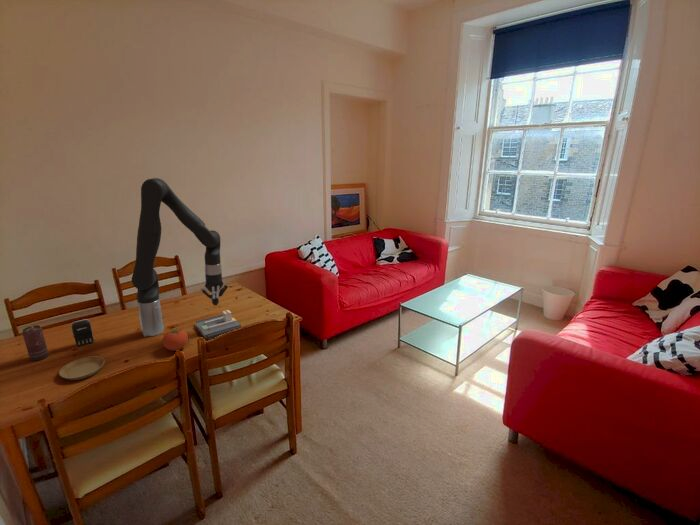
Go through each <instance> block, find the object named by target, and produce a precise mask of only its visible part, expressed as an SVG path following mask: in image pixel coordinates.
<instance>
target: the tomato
mask: <svg viewBox="0 0 700 525" xmlns="http://www.w3.org/2000/svg"><path fill="white" fill-rule="evenodd" d="M188 340H189V337H188V333H187V332H186V331H185V330H182V329H178V328H173V329H170V330H169V331H166V333H165V334H164V336H163V338H162V344H163V346H164V347H165V349H167V350H169V351H175V352H176V351H179V350H181V349H183V348H184V347H185V346H186V345H187V344H188ZM178 349H179V350H178Z"/></svg>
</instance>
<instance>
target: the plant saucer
mask: <svg viewBox="0 0 700 525" xmlns="http://www.w3.org/2000/svg"><path fill="white" fill-rule="evenodd" d="M104 364H105V358H103V357H101V356H97V355H93V356H91V355H90V356H85V357H82V358H78V359H74V360H73V361H70V362H68V363H67V364H66V365H65V364H64V365H63V367H61V368H60V369H59V372H58V375H59V376H60V377H61V378H63V379H66V380H70V381H77V380H82V379H86V378H89V377H92V376H93V375H95V374H96V373H98V372H99V371H100V370H101V369H102V367H103V366H104Z"/></svg>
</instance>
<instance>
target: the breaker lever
mask: <svg viewBox="0 0 700 525" xmlns="http://www.w3.org/2000/svg"><path fill="white" fill-rule="evenodd" d="M222 314H223V320H224V321H225V322H228V321H231V320H232V317H233V315H232V312H231V311H230V310H229V309H225V310H223V311H222Z"/></svg>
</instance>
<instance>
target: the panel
mask: <svg viewBox="0 0 700 525" xmlns="http://www.w3.org/2000/svg"><path fill="white" fill-rule="evenodd" d="M194 324H195V328H196V327H197V328H198V329H197V328H196V329H197V330H198V332H199V331H200V332H201V333H200V332H199V333H200V334H201V335H203V336H204V337H203V336H202V337H203V338H204V339H205V338H206V339H207V335H209V334H213V333H216V332H220V331H223V330H227V329H230V328H234V327H237V326H240V327H241V328H242V324H241V323H240V322H239V321H238V320H237V319H236V318H235V317H234V316H232V320H231V321H228V322H225V321H224V320H223V316H221V317H217V318H213V319H209V320H205V321H202V322H198V323H196V322H195V323H194Z"/></svg>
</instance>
